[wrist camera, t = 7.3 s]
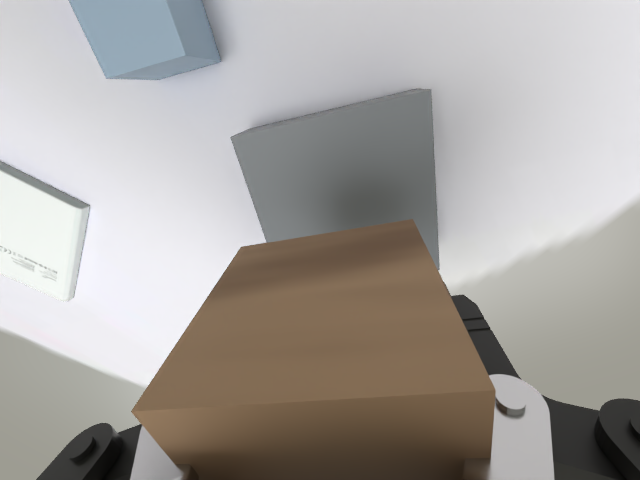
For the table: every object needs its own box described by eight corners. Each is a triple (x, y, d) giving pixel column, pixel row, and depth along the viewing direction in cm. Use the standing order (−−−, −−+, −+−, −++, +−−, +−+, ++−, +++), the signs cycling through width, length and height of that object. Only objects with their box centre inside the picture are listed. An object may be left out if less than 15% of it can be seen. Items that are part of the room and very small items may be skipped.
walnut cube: (241, 246, 10) (131, 411, 5) (412, 218, 9) (496, 390, 4) (286, 361, 13) (243, 548, 8) (424, 350, 12) (483, 557, 7)
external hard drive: (95, 203, 26) (77, 294, 32) (1, 156, 25) (0, 259, 31) (80, 210, 25) (65, 304, 30) (-20, 160, 24) (-18, 268, 29)
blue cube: (121, -8, 18) (50, -37, 14) (191, -33, 18) (140, -72, 13) (157, 79, 21) (106, 78, 16) (221, 61, 20) (186, 55, 15)
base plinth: (249, 128, 22) (230, 137, 18) (416, 88, 19) (430, 89, 16) (291, 263, 27) (283, 290, 23) (426, 243, 25) (439, 270, 21)
